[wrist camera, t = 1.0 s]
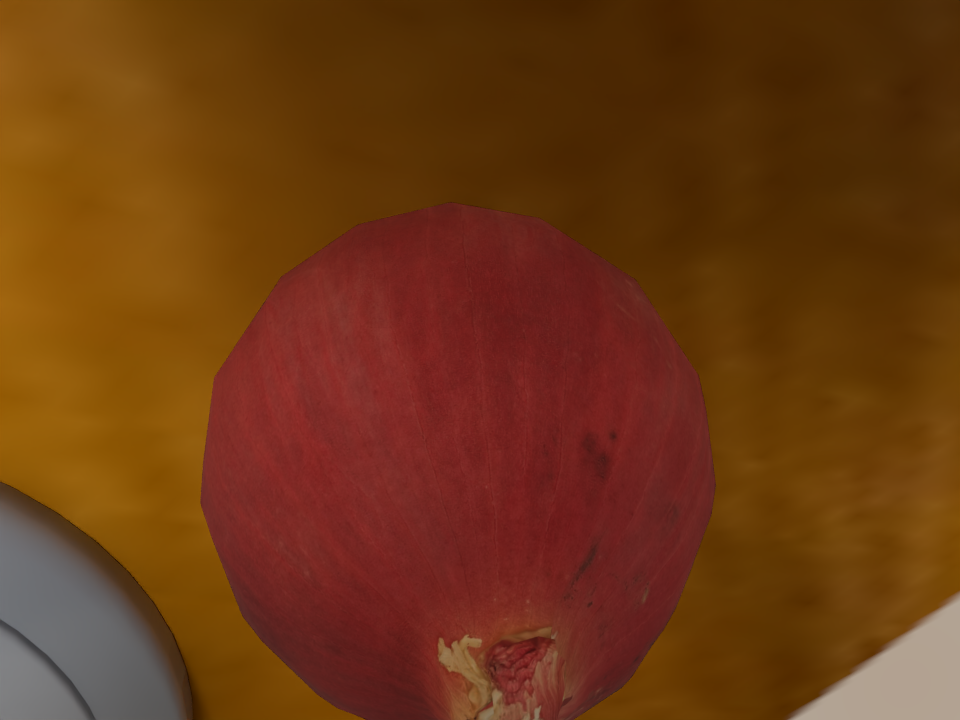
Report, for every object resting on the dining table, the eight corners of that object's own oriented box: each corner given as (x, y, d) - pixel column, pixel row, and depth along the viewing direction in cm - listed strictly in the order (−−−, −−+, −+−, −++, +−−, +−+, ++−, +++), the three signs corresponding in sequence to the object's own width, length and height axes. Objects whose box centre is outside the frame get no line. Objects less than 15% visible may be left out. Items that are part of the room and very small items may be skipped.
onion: (674, 363, 15) (978, 778, 8) (387, 543, 16) (432, 1064, 9) (485, 57, 12) (685, 269, 5) (152, 291, 13) (-55, 744, 6)
